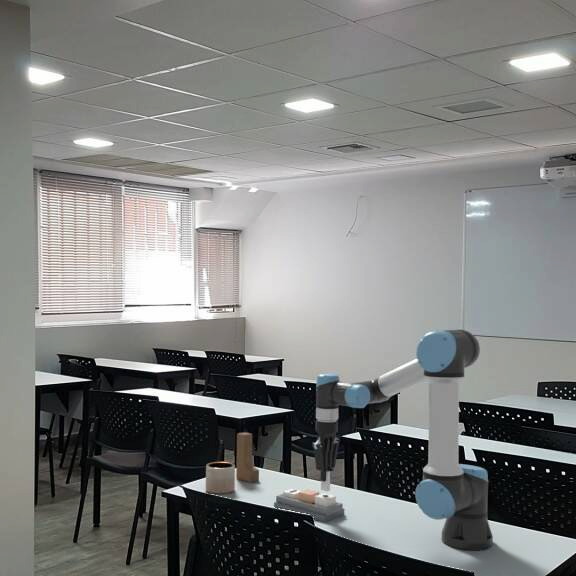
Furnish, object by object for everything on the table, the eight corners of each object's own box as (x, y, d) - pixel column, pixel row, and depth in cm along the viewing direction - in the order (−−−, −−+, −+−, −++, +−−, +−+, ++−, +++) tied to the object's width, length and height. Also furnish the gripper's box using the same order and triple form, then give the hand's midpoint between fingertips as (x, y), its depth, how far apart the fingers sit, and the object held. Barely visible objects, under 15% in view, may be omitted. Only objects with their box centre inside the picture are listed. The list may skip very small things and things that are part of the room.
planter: (220, 496, 263) (221, 470, 263) (199, 490, 269) (199, 465, 269) (240, 490, 271) (241, 464, 271) (219, 485, 278) (219, 460, 278)
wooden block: (259, 481, 284) (260, 435, 284) (250, 483, 281) (251, 436, 281) (244, 476, 291) (245, 432, 291) (235, 478, 288) (236, 433, 288)
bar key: (303, 500, 251) (303, 490, 251) (294, 503, 247) (294, 493, 247) (292, 497, 254) (292, 488, 254) (283, 500, 251) (283, 490, 251)
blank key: (319, 500, 247) (319, 492, 247) (310, 503, 243) (310, 495, 243) (307, 497, 250) (307, 489, 250) (298, 500, 246) (298, 492, 246)
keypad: (344, 514, 244) (344, 502, 244) (324, 522, 235) (324, 510, 235) (294, 501, 258) (294, 490, 258) (273, 508, 249) (274, 496, 249)
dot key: (335, 505, 242) (335, 495, 242) (326, 508, 238) (326, 498, 238) (323, 502, 245) (323, 492, 245) (314, 505, 242) (314, 495, 242)
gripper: (329, 416, 249) (328, 484, 249) (306, 421, 239) (304, 492, 239) (347, 419, 245) (345, 488, 245) (324, 424, 235) (322, 496, 235)
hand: (325, 490), depth 242 cm, fingers closed
